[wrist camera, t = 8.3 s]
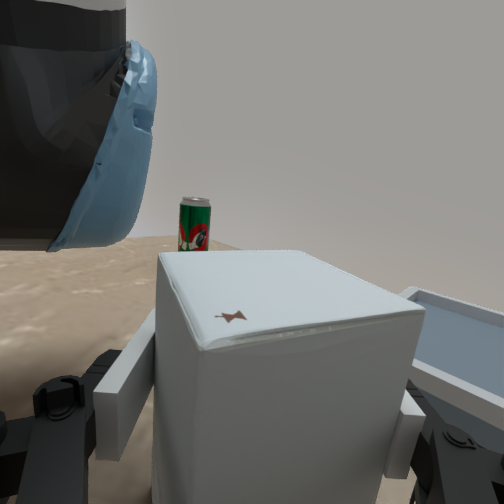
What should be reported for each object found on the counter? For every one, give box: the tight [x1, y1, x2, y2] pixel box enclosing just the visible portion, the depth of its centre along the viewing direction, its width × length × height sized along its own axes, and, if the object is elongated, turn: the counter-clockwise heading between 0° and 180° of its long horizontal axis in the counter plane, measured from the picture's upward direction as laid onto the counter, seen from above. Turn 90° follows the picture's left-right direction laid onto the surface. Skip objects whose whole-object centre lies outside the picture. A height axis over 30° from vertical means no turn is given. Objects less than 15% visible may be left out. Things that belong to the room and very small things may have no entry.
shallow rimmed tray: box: [398, 286, 504, 454], centre depth 23 cm, size 18×15×6 cm
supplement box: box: [151, 250, 426, 504], centre depth 12 cm, size 7×7×13 cm
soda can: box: [178, 197, 211, 252], centre depth 48 cm, size 5×5×12 cm
